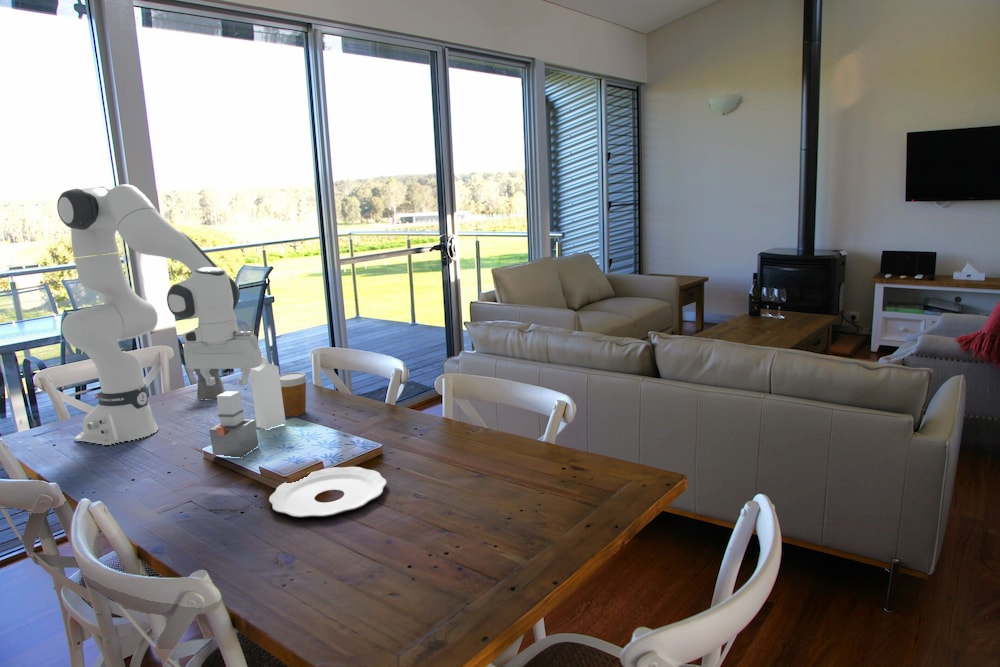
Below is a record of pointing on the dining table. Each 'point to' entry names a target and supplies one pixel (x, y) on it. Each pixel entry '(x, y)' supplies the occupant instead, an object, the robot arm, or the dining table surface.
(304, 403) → the disposable coffee cup
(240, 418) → the column
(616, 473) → the dining table surface
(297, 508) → the plate
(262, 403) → the milk
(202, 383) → the coffeepot
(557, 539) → the dining table surface
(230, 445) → the stand
